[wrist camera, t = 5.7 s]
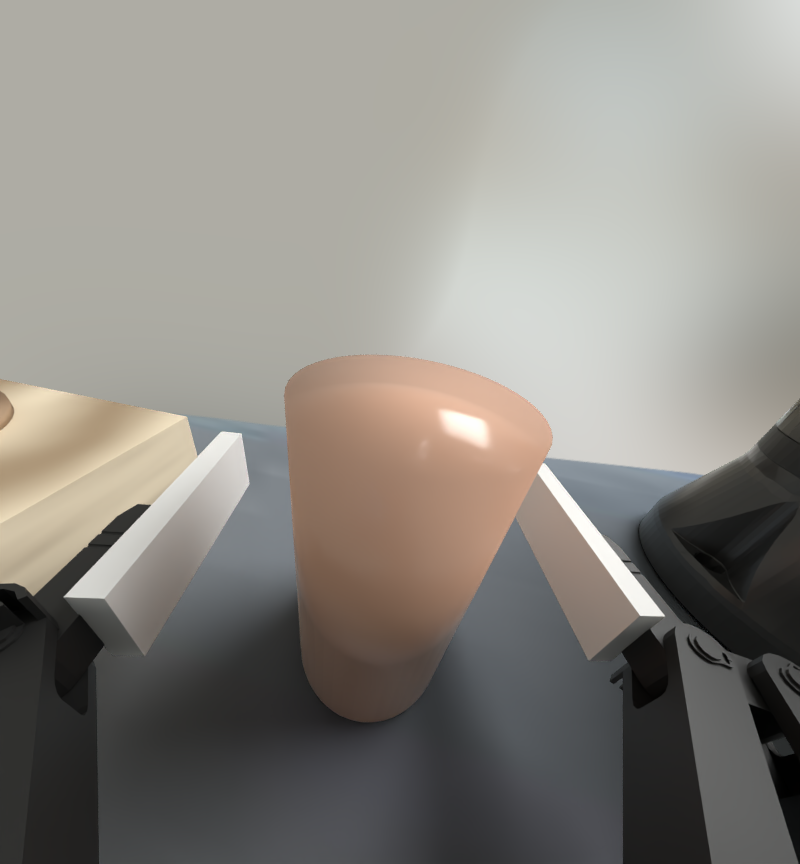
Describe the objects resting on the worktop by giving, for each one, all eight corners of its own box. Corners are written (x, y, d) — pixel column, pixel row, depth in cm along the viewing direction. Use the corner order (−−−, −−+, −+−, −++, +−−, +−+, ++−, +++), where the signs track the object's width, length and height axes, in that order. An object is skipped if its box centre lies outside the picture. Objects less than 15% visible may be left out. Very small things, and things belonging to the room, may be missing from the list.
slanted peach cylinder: (466, 639, 13) (590, 421, 7) (355, 777, 9) (427, 548, 3) (381, 545, 17) (417, 349, 11) (276, 615, 13) (240, 365, 7)
